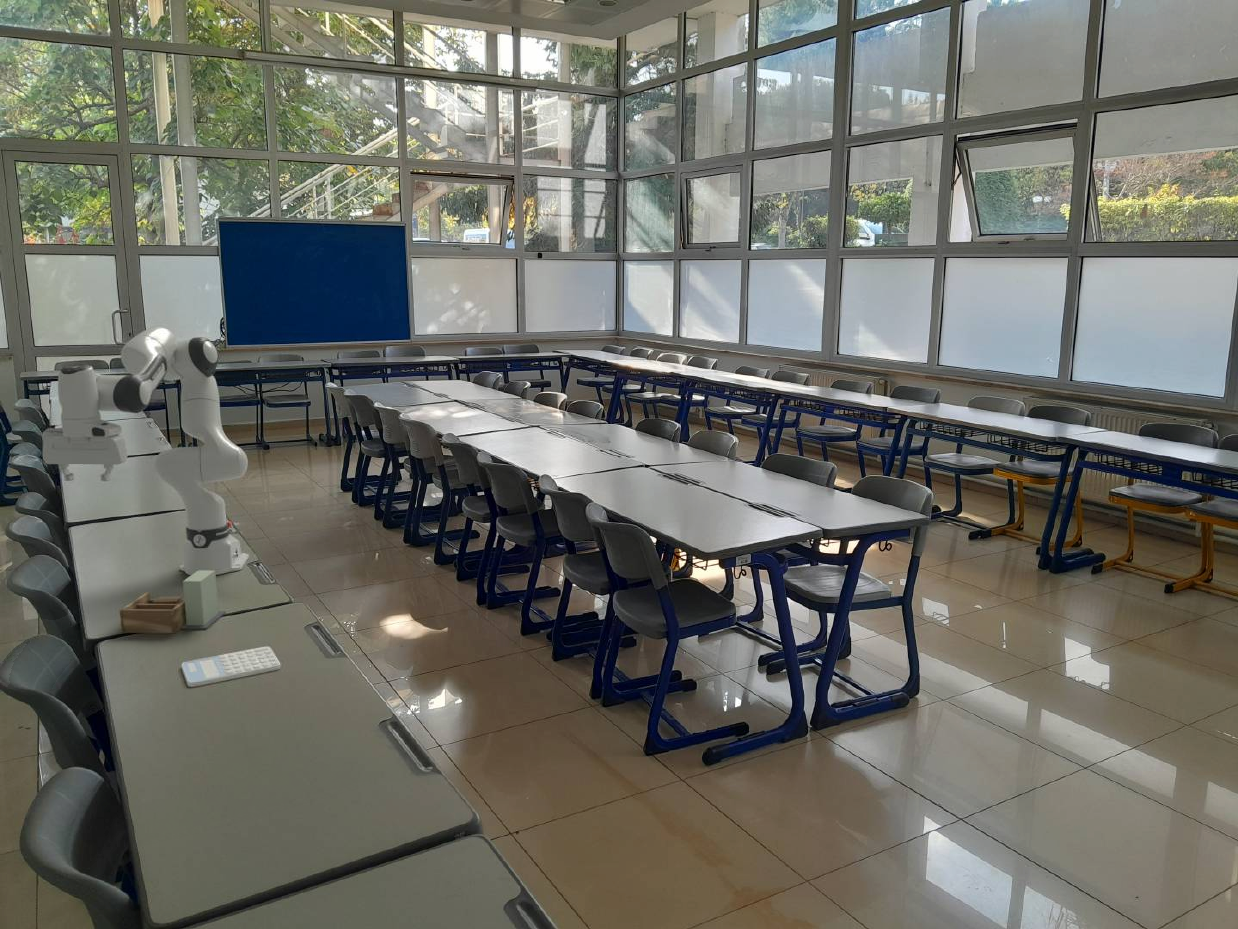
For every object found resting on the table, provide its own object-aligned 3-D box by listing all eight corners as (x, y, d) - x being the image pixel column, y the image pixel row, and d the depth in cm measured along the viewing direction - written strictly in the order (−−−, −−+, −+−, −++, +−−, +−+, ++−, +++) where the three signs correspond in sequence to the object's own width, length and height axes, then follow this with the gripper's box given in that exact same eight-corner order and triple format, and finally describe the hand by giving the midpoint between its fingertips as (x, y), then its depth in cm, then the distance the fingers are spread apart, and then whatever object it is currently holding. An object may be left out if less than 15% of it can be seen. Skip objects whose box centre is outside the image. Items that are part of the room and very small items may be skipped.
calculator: (282, 671, 213) (281, 663, 213) (188, 690, 203) (188, 682, 202) (270, 651, 224) (269, 644, 224) (180, 668, 214) (180, 661, 213)
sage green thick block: (186, 625, 238) (182, 581, 235) (201, 612, 247) (198, 570, 244) (204, 625, 238) (200, 581, 235) (218, 613, 247) (215, 570, 244)
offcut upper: (158, 606, 245) (157, 597, 245) (181, 605, 246) (181, 596, 245) (153, 610, 242) (152, 601, 241) (177, 610, 242) (176, 601, 242)
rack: (148, 613, 247) (146, 592, 246) (199, 613, 247) (197, 592, 246) (121, 632, 234) (119, 610, 232) (175, 633, 234) (173, 610, 233)
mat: (199, 612, 248) (199, 611, 248) (225, 613, 248) (225, 611, 248) (179, 629, 236) (179, 627, 236) (206, 629, 236) (206, 627, 236)
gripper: (33, 429, 232) (40, 482, 235) (114, 430, 232) (120, 483, 235) (48, 426, 238) (54, 477, 241) (127, 426, 238) (132, 478, 241)
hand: (87, 480), depth 238 cm, fingers open, 8 cm apart
